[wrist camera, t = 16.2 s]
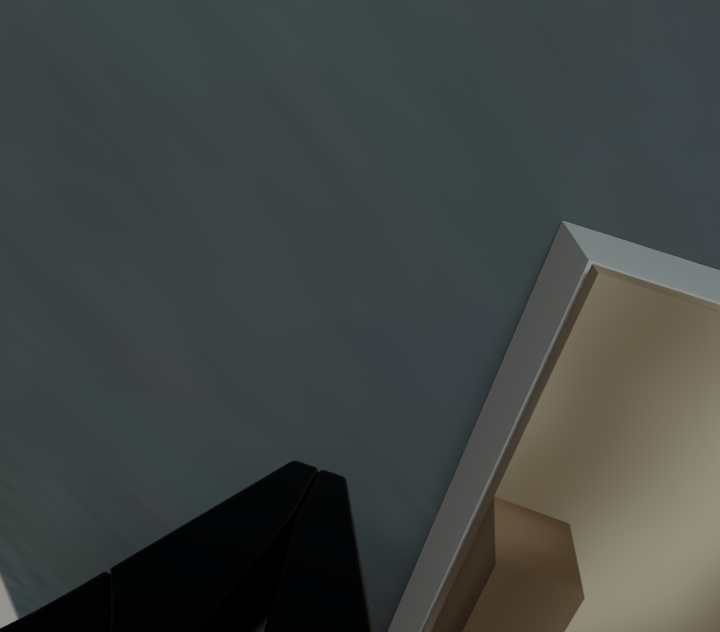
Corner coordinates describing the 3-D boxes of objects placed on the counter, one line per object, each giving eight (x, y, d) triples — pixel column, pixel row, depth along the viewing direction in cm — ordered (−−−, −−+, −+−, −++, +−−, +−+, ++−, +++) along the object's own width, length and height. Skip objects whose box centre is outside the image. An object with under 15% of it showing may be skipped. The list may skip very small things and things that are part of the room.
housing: (985, 354, 17) (1174, 448, 12) (637, 789, 26) (671, 940, 21) (562, 220, 18) (588, 259, 13) (366, 681, 27) (341, 801, 22)
